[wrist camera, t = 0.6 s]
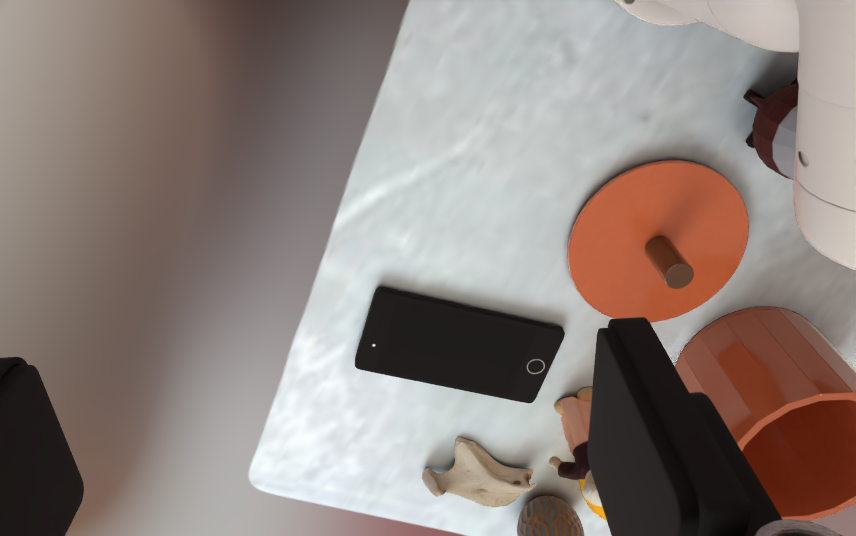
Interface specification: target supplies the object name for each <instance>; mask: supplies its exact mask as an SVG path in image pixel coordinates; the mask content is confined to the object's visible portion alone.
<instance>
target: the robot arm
mask: <svg viewBox="0 0 856 536" xmlns="http://www.w3.org/2000/svg"><path fill="white" fill-rule="evenodd" d="M614 1H615V2H616V3H617V4H618V5H619V6H620V7H621V8H623V9H624V10H625V11H627V12H628V13H630V14H631V15H633V16H635V17H637V18H639V19H641V20H643V21H645V22H649V23H653V24H657V25H665V26H678V25H685V24H692V23H695V22H698V21H701V22H703V23H705V24H708V25H710V26H712V27H714V28H716V29H718V30H721V31H723V32H725V33H727V34H729V35H731V36H733V37H736V38H738V39H740V40H743V41H745V42H747V43H749V44H751V45H754V46H757V47H759V48H763V49H767V50H771V51H777V52H799V60H798V78H797V80H798V83H799V92H798V110H797V127H796V145H795V162H794V208H795V215H796V219H797V223H798V225H799V227H800V230H801V232H802V234H803V235H804V237H805V238H806V239H807V241H808V242H809V243H810V244H811V245H812V246H813V247H814V248H815V249H816V250H817V251H819V252H820V253H821V254H823V255H824V256H826V257H827V258H829V259H831V260H833V261H834V262H836V263H838V264H840V265H843V266H845V267H848V268H850V269H852V270H855V271H856V0H614ZM587 451H588V461H589V467H590V470H591V473H592V476H593V480H594V483H595V486H596V489H597V492H598V495H599V498H600V501H601V504H602V507H603V510H604V513H605V516H606V519H607V522H608V525H609V528H610V531H611V535H612V536H842V535H840V534H838V533H836V532H835V531H833V530H831V529H829V528H827V527H824V526H821V525H818V524H815V523H812V522H809V521H802V520H793V519H786V520H783V519H782V518H781V516H780V514H779V513H778V511H777V509H776V508H775V506H774V504H773V503H772V501H771V499H770V498H769V496H768V494H767V493H766V491H765V489H764V488H763V486H762V484H761V483H760V481H759V479H758V478H757V476H756V474H755V473H754V471H753V469H752V468H751V466H750V464H749V463H748V461H747V459H746V458H745V456H744V454H743V453H742V451H741V449H740V448H739V446H738V444H737V443H736V441H735V439H734V438H733V436H732V434H731V433H730V431H729V429H728V428H727V426H726V424H725V423H724V421H723V419H722V418H721V416H720V414H719V413H718V411H717V409H716V408H715V406H714V404H713V403H712V401H711V400H710V398H709V397H708V396H707V395H706V394H704V393H702V392H694V393H689V391H688V390H687V388H686V386H685V384H684V383H683V381H682V379H681V377H680V375H679V374H678V372H677V370H676V368H675V367H674V365H673V363H672V361H671V360H670V358H669V356H668V354H667V353H666V351H665V349H664V347H663V345H662V344H661V342H660V340H659V338H658V337H657V335H656V333H655V331H654V330H653V328H652V326H651V324H650V323H649V321H648V320H647V318H645V317H635V318H619V319H611V320H610V322H609V324H608V328H600V329H599V330H598V333H597V342H596V354H595V365H594V377H593V389H592V400H591V412H590V424H589V435H588V450H587ZM83 492H84V486H83V481H82V478H81V475H80V473H79V470H78V468H77V466H76V463H75V461H74V458H73V456H72V453H71V451H70V448H69V446H68V443H67V441H66V438H65V436H64V433H63V431H62V429H61V426H60V424H59V421H58V419H57V416H56V414H55V411H54V409H53V407H52V404H51V402H50V399H49V397H48V394H47V392H46V389H45V387H44V384H43V382H42V380H41V377H40V375H39V372H38V370H37V369H36V368H35V367H34V366H32V365H28V364H27V363H26V361H25V360H23V359H22V358H20V357H8V358H0V536H65V534H66V532H67V530H68V528H69V526H70V524H71V522H72V520H73V518H74V516H75V514H76V512H77V510H78V508H79V506H80V504H81V502H82V498H83Z"/></svg>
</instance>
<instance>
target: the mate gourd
mask: <svg viewBox="0 0 856 536" xmlns="http://www.w3.org/2000/svg"><path fill="white" fill-rule="evenodd" d="M797 78H798V77H797ZM797 78H796V79H795V80H794V81H793V82H792V83H791V85H789V86H786V87H782V88H781V89H779V90H778V91H776V92H775V93H773V94H771V95H770V96H768V97H767V98H763V97H762V96H760V95H759V94H757V93H755V92H754V91H752V90H748V91H747V92H746V94H745V95H744V99H746V100H747V101H748V102H750V103H751V104H753V105H755V106H756V107H758V110H757V113H756V116H755V119H754V123H753V132H752V133H751V134H750V136H749V137H748V138H747V140H746V143H747V144H748V146H750V147H751V148H754V147H755V149H756V151H757V153H758V155H759V157H760V159H761V160H762V161H763V162H764V163H765V165H766V166H767V167H769V168H770V169H772V170H774V171H775V172H777V173H779V174H780V175H782V176H784V177H786V178H789V179H792V180H794V162H795V145H796V127H797V110H798V92H799V83H798V80H797Z"/></svg>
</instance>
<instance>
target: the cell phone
mask: <svg viewBox="0 0 856 536" xmlns="http://www.w3.org/2000/svg"><path fill="white" fill-rule="evenodd" d="M564 334H565V333H564V330H563V328H562V327H560V326H554V325H549V324H545V323H541V322H536V321H532V320H527V319H523V318H518V317H514V316H509V315H505V314H500V313H496V312H491V311H487V310H482V309H478V308H473V307H469V306H464V305H460V304H455V303H451V302H446V301H442V300H438V299H433V298H429V297H424V296H420V295H415V294H411V293H406V292H402V291H397V290H393V289H389V288H385V287H379V288H377V289H376V291H375V293H374V297H373V300H372V303H371V307H370V310H369V313H368V317H367V320H366V324H365V327H364V330H363V334H362V337H361V340H360V344H359V347H358V350H357V354H356V358H355V367H356V368H358V369H361V370H365V371H370V372H375V373H380V374H385V375H390V376H395V377H400V378H405V379H410V380H415V381H420V382H425V383H429V384H434V385H439V386H444V387H449V388H454V389H459V390H464V391H469V392H474V393H479V394H484V395H489V396H494V397H499V398H504V399H509V400H514V401H519V402H525V403H532V402H533V401H534V400H535V398H536V397H537V394H538V392H539V390H540V388H541V386H542V384H543V382H544V379H545V377H546V375H547V373H548V371H549V369H550V366H551V364H552V362H553V360H554V358H555V356H556V353H557V351H558V349H559V347H560V345H561V343H562V341H563V338H564Z"/></svg>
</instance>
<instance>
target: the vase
mask: <svg viewBox="0 0 856 536" xmlns="http://www.w3.org/2000/svg"><path fill="white" fill-rule="evenodd" d="M517 534H518V536H584V531H583V527H582V524H581V521H580V519H579V517H578V515H577V514H576V512H575V511H574V509H573V508H572V507H571V506H570V505H569V504H568V503H567V502H565V501H564V500H562V499H560V498H557V497H554V496H540V497H537V498H535V499H533V500H532V501H530V502H529V503H528V504H527V505H526V506H525V507H524V508H523V510H522V511H521V513H520V516H519V519H518V526H517Z"/></svg>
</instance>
